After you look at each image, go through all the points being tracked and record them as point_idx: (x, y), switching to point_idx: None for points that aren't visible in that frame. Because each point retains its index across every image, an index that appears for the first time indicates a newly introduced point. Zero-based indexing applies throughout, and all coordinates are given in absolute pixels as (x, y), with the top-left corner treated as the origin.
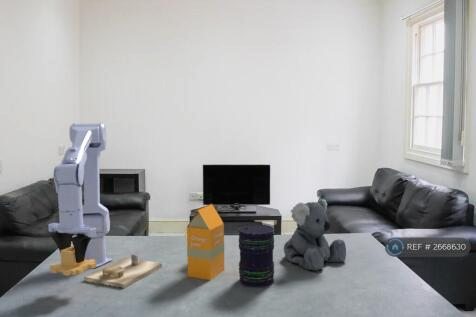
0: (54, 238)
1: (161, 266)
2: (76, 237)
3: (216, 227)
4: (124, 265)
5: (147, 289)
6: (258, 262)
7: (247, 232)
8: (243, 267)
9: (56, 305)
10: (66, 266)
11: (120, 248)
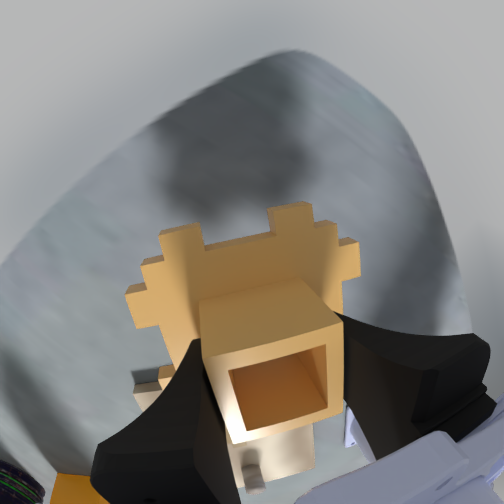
0: (451, 345)
1: None
2: (147, 491)
3: None
4: (269, 455)
5: (84, 406)
6: None
7: None
8: (1, 487)
9: (191, 165)
10: (257, 287)
11: None
